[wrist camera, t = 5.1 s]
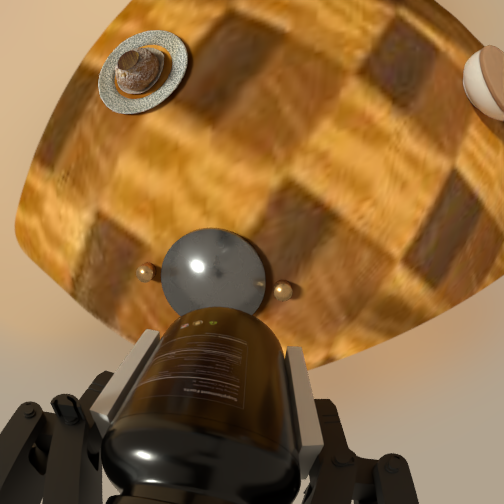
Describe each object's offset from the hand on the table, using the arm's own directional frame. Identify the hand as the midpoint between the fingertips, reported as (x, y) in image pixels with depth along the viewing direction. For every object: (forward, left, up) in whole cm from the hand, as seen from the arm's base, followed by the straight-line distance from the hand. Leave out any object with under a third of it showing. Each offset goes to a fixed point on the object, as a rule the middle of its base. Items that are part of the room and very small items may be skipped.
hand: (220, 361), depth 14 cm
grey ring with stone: (-22, -15, -18) cm, 33 cm away
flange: (+2, -3, -18) cm, 18 cm away
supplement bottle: (0, 0, -1) cm, 1 cm away
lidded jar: (-30, +31, -18) cm, 47 cm away
